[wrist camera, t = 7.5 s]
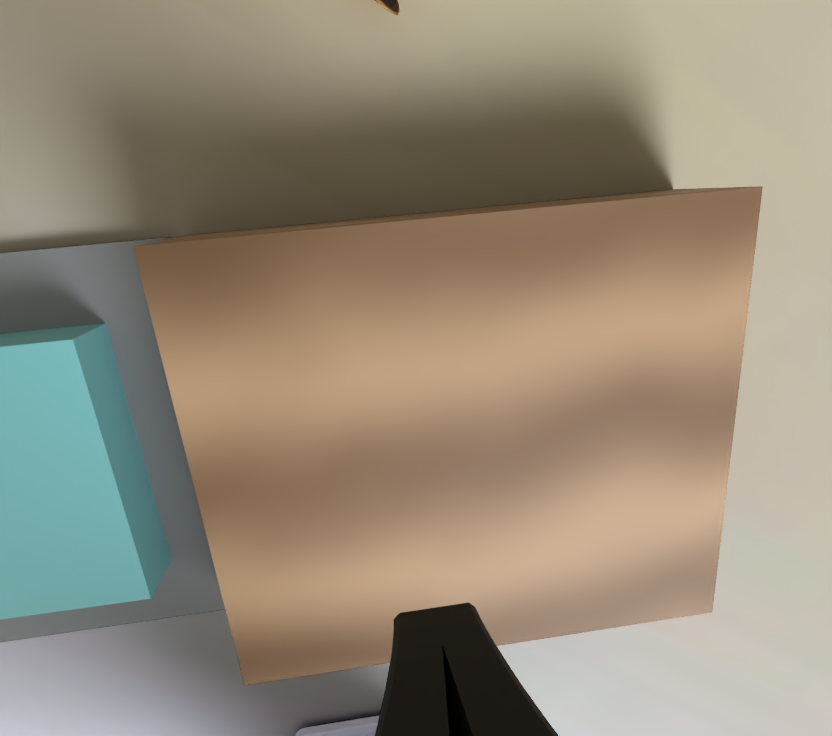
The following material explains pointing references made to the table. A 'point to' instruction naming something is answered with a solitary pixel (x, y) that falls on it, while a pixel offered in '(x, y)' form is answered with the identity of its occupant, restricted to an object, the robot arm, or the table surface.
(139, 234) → the table surface
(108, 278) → the grey flat slab
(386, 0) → the shard
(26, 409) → the aqua rectangular block
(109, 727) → the table surface
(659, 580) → the brown wooden flat block
